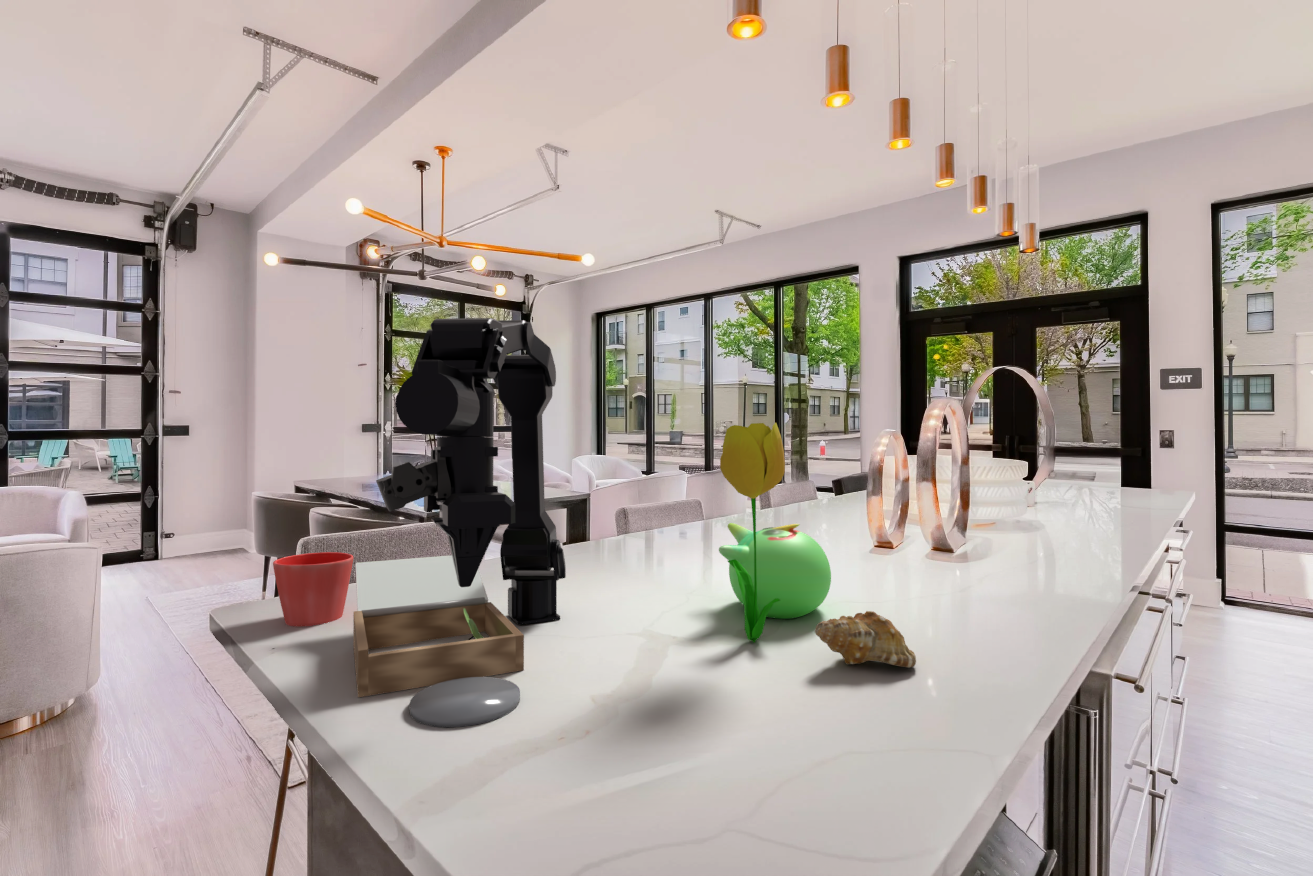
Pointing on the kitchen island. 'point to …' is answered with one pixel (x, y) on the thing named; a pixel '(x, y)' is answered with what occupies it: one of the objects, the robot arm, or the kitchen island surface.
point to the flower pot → (313, 586)
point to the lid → (413, 586)
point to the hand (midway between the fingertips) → (464, 586)
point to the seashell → (866, 639)
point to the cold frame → (433, 648)
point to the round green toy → (781, 569)
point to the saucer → (464, 701)
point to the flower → (752, 497)
